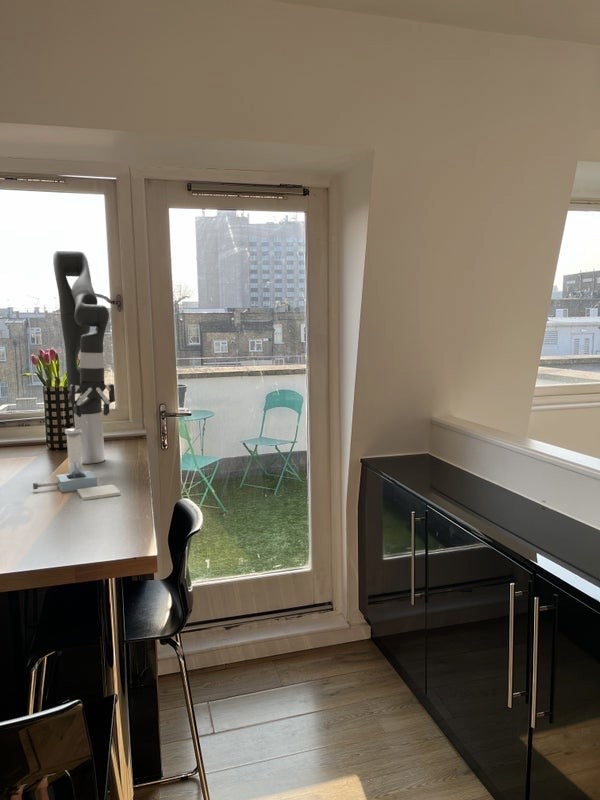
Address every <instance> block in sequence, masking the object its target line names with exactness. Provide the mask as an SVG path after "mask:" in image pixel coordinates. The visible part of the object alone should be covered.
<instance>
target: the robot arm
mask: <svg viewBox="0 0 600 800" xmlns="http://www.w3.org/2000/svg"><path fill="white" fill-rule="evenodd" d="M87 257H88V256H87V255H86V253H85V252H84V251H83V250H78V249H64V248H63V249H55V250H54V252H53V255H52V266H53V271H54V276H55V280H56V288H57V291H58V292H57V293H58V299H59V300H58V301H59V312H60V313H59V314H60V322H61V329H62V336H63V337H62V338H63V342H64V350H65V351H64V352H65V366H66V370H65V371H66V382H67V388H68V392H69V393H68V403H70V404H72V405H73V418H74V428H81V429H82V432H81V433H80V435H81V451H82V465H83V464H84V465H87V464H96V463H101V462H105V442H104V424H103V422H104V421H103V415H104V416H108V414H110V404H112V403H115V402H116V393H115V391H116V389H115V384H113V383H109V384H106V383H105V366H106V365H105V356H104V338H105V335H106V334H105V333H106V329H107V325H108V322H109V319H110V318H109V317H110V312H109V310H108V307H107V306H105V305H104V304H98V298H97V295H96V293H95V290H94V288H93V284H92V277H91V271H90V266H89V262H88V258H87ZM67 277H75V278H76V277H77V279H75V281H74V282H73V284H72V287H71V285H70V283H69V281H68V278H67ZM91 327H93V328H95V330H94V331H93V332H91V333H90V331H91ZM79 354H80V356H79ZM78 356H79V366H78V365H77V361H78ZM105 390H107V391H108V398H107V396H106V394H105V393H104V391H105ZM78 394H79V395H78ZM76 395H78V397H77V398H76ZM102 404H103V406H102ZM102 407H103V408H102ZM102 412H103V413H102Z"/></svg>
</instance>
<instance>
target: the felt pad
mask: <svg viewBox="0 0 600 800" xmlns="http://www.w3.org/2000/svg"><path fill="white" fill-rule="evenodd" d="M76 492H77V494H78V495H79V497H80V498H81V499H82V501H88V500H89V501H90V500H95V499H101V498H102V499H104V498H108V497H116V496H121V495H122V493H121V491H120V490H119V489H118V488H117V487H116V486H115V484H106V485H97V487H90V488H82V489H77V490H76Z"/></svg>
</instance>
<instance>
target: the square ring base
mask: <svg viewBox="0 0 600 800" xmlns="http://www.w3.org/2000/svg"><path fill="white" fill-rule="evenodd" d="M55 477H56V481H51V482H45V483H43V482H42V483H37V482H33V483H32V489H33V490H38V488H43V487H51V486H57V487H58V489H59V490H60V492H61V493H64V492H65V493H67V492H73V491H77V489H82V488H90V487H97V486H98V480H97V479H98V478H97V476H96V474H94V473H93V472H92V471H91V470H87V471H86V470H85V471H83V477H81V478H73V479H70V478H69V472H68V473H61V474H60V473H59V474H56V476H55Z"/></svg>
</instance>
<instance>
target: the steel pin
mask: <svg viewBox="0 0 600 800" xmlns="http://www.w3.org/2000/svg"><path fill="white" fill-rule="evenodd" d="M81 432H82V429H81V428H75V427H72V428H71V427H70V428H66V429H64V434H65V435H66V445H67V459H68V463H67V464H68V473H69V478H70V479H73V478H81V477H83V472H84V471H83V470H84V469H83V464H82V451H81V435H80V433H81Z"/></svg>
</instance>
